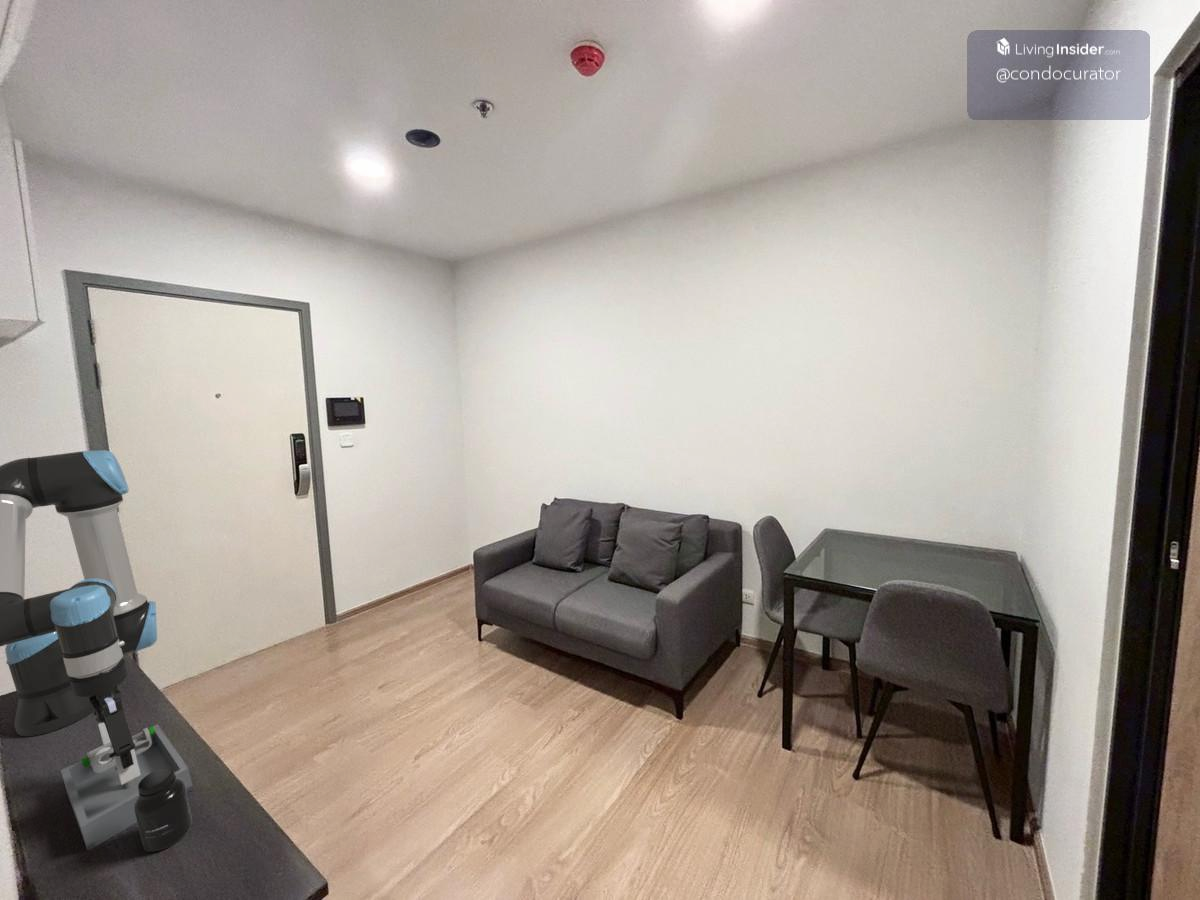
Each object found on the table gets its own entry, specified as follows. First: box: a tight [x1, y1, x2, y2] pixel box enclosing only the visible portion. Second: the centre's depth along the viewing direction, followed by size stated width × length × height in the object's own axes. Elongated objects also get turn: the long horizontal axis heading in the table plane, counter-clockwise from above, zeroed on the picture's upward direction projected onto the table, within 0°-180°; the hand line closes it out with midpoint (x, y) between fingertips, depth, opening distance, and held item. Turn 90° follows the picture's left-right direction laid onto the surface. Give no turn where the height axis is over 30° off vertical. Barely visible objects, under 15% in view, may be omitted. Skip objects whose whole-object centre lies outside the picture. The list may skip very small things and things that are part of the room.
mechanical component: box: [81, 725, 155, 789], centre depth 98 cm, size 3×10×10 cm, turn 145°
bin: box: [60, 723, 194, 852], centre depth 98 cm, size 22×15×5 cm
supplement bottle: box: [134, 767, 193, 853], centre depth 88 cm, size 7×7×12 cm
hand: (122, 763), depth 98 cm, fingers open, 13 cm apart
